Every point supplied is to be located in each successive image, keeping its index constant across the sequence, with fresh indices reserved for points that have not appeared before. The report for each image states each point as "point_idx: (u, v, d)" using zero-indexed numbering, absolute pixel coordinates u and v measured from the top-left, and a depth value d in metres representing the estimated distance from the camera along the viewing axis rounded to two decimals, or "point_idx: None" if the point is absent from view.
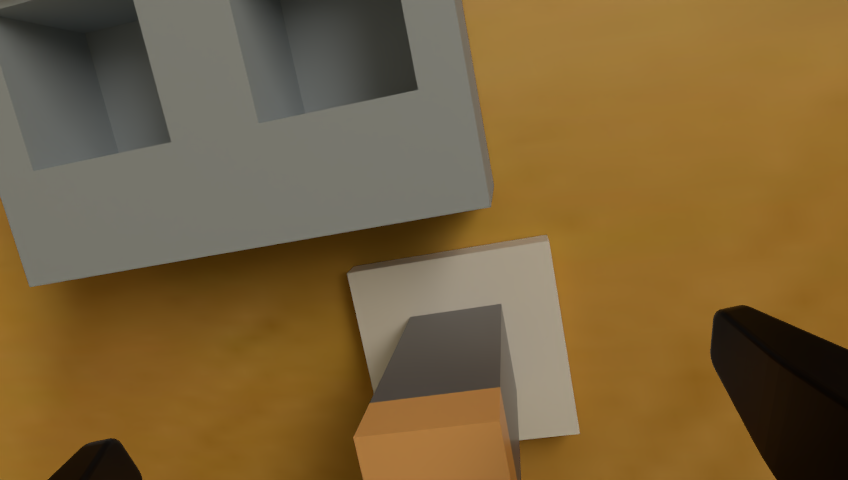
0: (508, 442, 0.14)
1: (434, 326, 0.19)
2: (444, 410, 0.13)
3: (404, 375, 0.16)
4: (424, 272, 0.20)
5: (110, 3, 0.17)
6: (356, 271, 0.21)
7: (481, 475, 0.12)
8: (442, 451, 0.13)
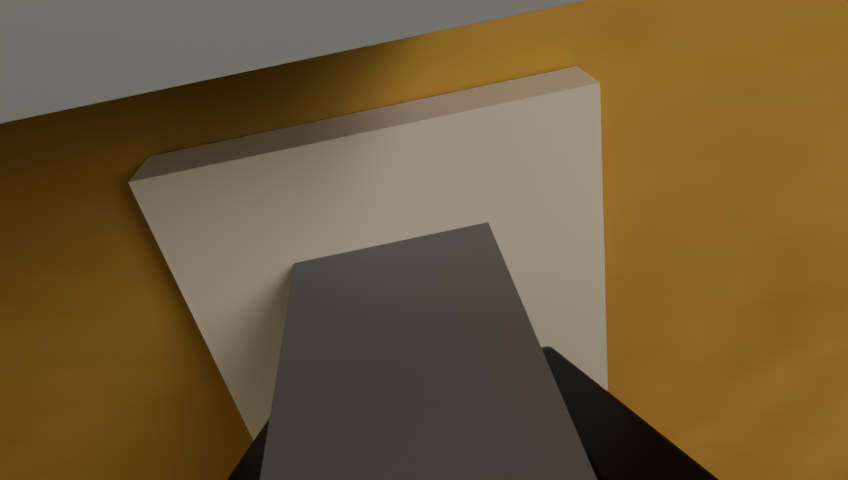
0: None
1: (358, 301, 0.08)
2: None
3: None
4: (317, 169, 0.09)
5: None
6: (152, 175, 0.09)
7: None
8: None
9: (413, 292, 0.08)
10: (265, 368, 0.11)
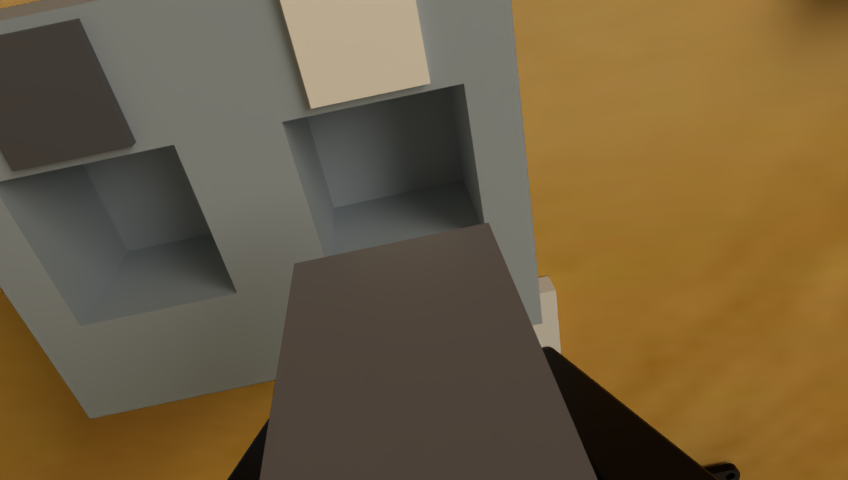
0: None
1: (358, 302, 0.08)
2: None
3: None
4: None
5: None
6: None
7: None
8: None
9: (413, 293, 0.08)
10: None
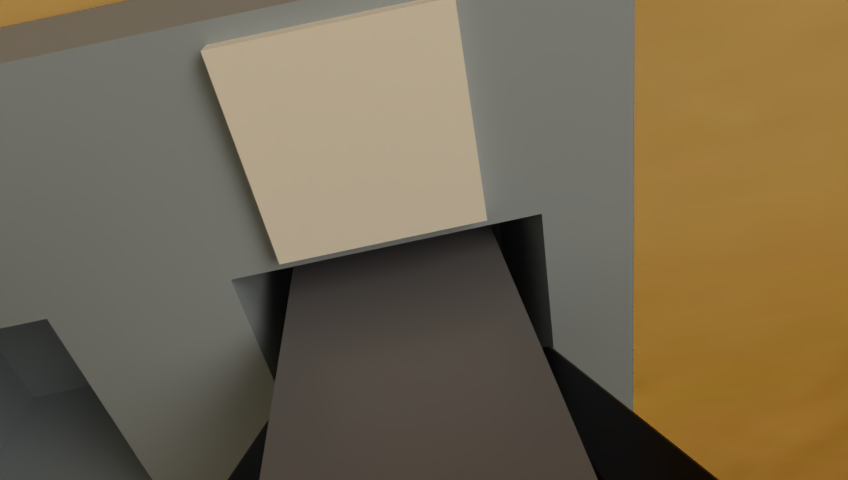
0: None
1: (358, 301, 0.08)
2: None
3: None
4: None
5: None
6: None
7: None
8: None
9: (413, 292, 0.08)
10: None
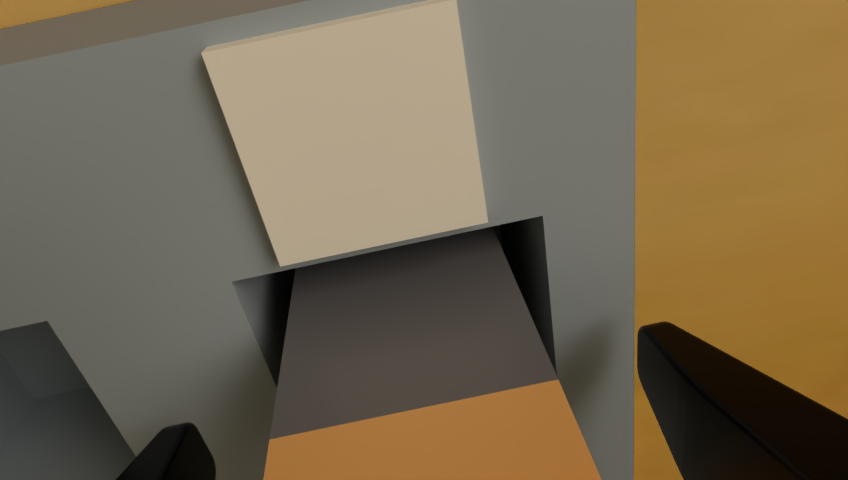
0: None
1: None
2: (457, 466, 0.06)
3: (331, 342, 0.08)
4: None
5: None
6: None
7: None
8: None
9: None
10: None
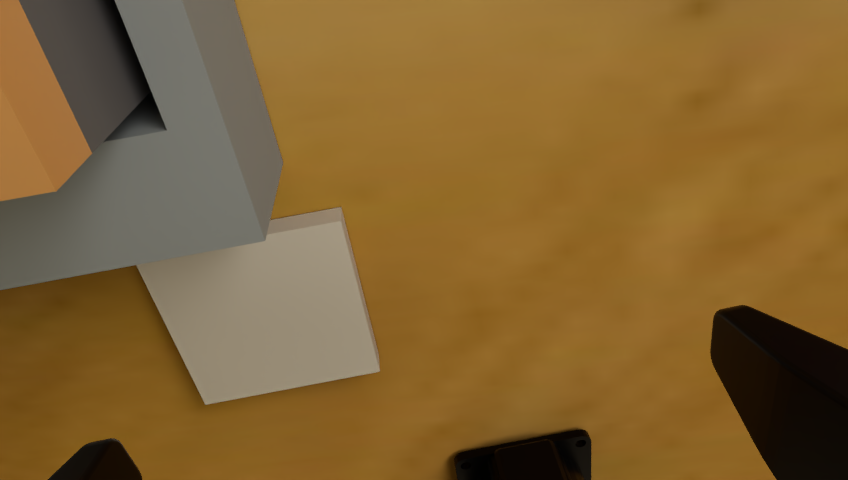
0: (25, 49, 0.10)
1: None
2: None
3: None
4: (217, 254, 0.20)
5: None
6: None
7: None
8: None
9: None
10: (197, 342, 0.22)
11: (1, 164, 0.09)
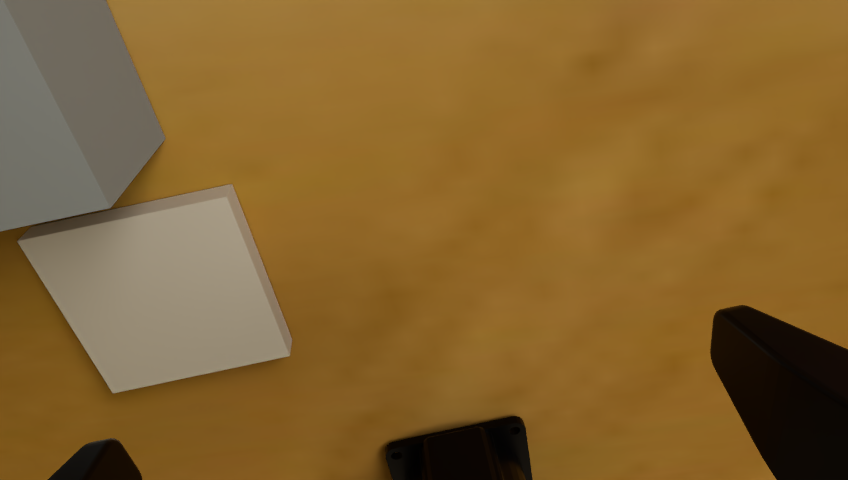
0: None
1: None
2: None
3: None
4: (103, 234, 0.19)
5: None
6: (28, 238, 0.19)
7: None
8: None
9: None
10: (95, 327, 0.21)
11: None
